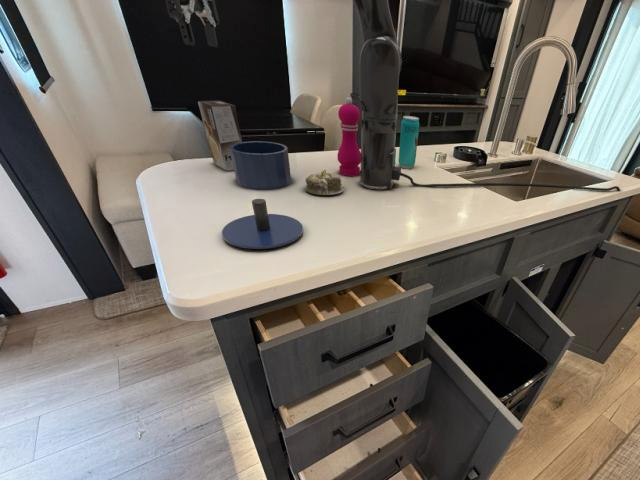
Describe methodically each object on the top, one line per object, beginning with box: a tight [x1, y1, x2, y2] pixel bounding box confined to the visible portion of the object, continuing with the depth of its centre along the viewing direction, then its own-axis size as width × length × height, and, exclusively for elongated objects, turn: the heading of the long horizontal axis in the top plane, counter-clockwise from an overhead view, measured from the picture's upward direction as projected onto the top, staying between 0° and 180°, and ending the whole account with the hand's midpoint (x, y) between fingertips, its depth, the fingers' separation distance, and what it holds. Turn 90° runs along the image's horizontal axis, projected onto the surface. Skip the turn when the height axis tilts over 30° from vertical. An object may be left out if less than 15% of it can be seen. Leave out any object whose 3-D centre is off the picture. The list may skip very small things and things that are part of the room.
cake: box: [305, 169, 345, 196], centre depth 84 cm, size 10×10×5 cm
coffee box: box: [197, 100, 243, 172], centre depth 90 cm, size 9×6×16 cm
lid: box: [221, 198, 304, 250], centre depth 61 cm, size 15×15×7 cm
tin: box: [230, 140, 292, 191], centre depth 84 cm, size 14×14×8 cm
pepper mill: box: [336, 96, 361, 177], centre depth 93 cm, size 7×7×20 cm
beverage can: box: [398, 115, 420, 170], centre depth 106 cm, size 6×6×15 cm
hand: (202, 45), depth 76 cm, fingers open, 8 cm apart
